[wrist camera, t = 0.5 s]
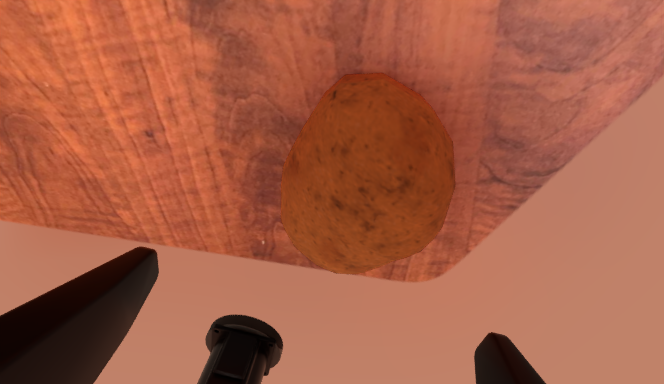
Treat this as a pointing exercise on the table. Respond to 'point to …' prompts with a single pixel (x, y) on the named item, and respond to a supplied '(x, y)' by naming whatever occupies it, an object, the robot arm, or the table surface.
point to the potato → (367, 176)
